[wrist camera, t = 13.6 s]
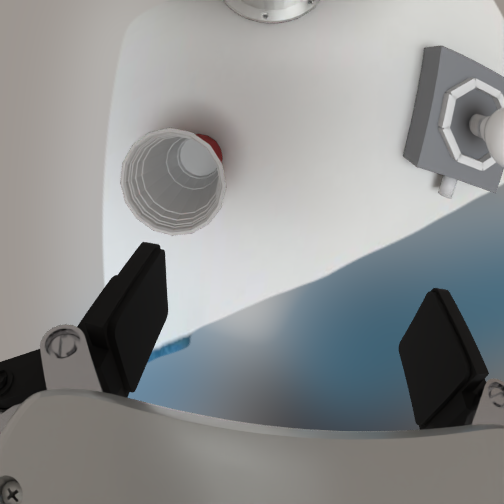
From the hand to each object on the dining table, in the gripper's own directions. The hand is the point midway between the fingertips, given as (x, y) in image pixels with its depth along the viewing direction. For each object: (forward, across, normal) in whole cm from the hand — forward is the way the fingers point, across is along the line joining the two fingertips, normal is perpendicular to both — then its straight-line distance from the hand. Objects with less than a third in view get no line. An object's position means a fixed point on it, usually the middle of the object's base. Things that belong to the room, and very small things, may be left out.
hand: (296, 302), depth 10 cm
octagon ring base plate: (+30, -21, -6) cm, 37 cm away
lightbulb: (+26, -21, -8) cm, 34 cm away
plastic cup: (+31, +11, +4) cm, 33 cm away
